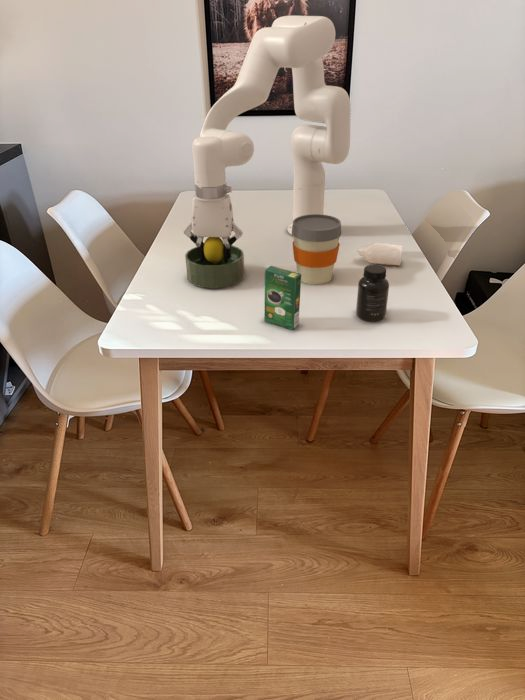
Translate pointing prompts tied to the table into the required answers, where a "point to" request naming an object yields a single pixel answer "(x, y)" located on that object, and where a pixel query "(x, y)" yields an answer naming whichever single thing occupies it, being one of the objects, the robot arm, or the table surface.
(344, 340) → the table surface
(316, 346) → the table surface
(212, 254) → the lemon
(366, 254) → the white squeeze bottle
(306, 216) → the reusable coffee cup
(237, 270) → the green round bowl
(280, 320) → the coffee box
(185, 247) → the table surface
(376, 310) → the supplement bottle
